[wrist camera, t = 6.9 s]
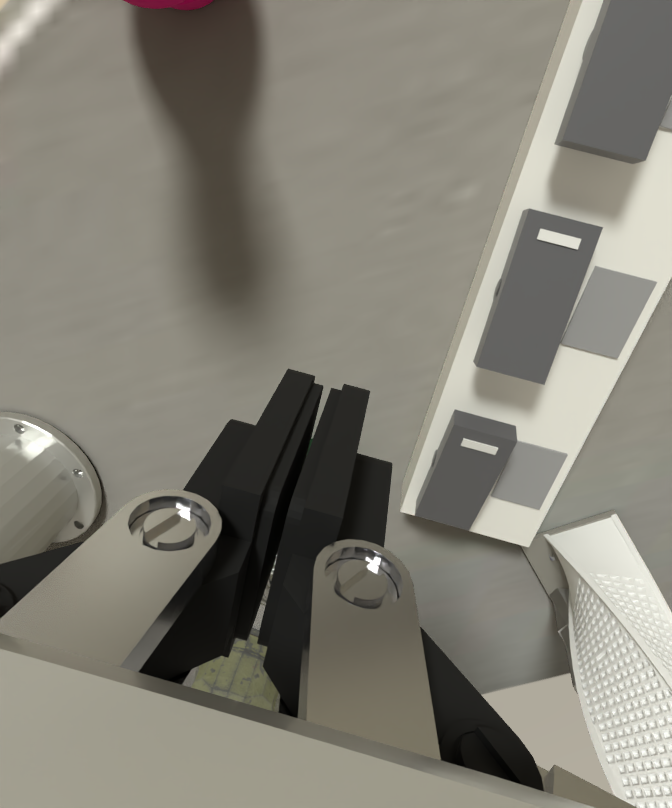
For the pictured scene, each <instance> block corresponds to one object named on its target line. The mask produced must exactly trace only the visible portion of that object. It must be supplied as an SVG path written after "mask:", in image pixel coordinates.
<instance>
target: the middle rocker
mask: <svg viewBox="0 0 672 808" xmlns="http://www.w3.org/2000/svg"><path fill="white" fill-rule="evenodd" d="M602 229H603V227H600V226H596V225H592V224H588V223H584V222H580V221H576V220H573V219H569V218H565V217H561V216H557V215H553V214H549V213H545V212H541V211H537V210H533V209H530V208H529V209H526V210H523V212H522V215H521V218H520V221H519V224H518V227H517V230H516V233H515V236H514V239H513V242H512V245H511V248H510V251H509V254H508V257H507V260H506V263H505V266H504V270H503V273H502V276H501V278H500V279H499V281H498V283H497V286H496V288H495V292H494V296H493V303H492V306H491V309H490V312H489V315H488V318H487V321H486V324H485V327H484V330H483V333H482V336H481V339H480V342H479V345H478V348H477V352H476V355H475V358H474V361H473V362H474V364H475V365H476V367H479V368H483V369H487V370H490V371H494V372H498V373H502V374H505V375H509V376H513V377H516V378H520V379H524V380H528V381H531V382H535V383H539V384H543V385H545V382H546V379H547V377H548V374H549V371H550V369H551V366H552V363H553V361H554V358H555V355H556V353H557V350H558V347H559V345H560V342H561V339H562V337H563V334H564V331H565V328H566V326H567V323H568V320H569V318H570V315H571V312H572V310H573V307H574V304H575V302H576V299H577V296H578V294H579V291H580V288H581V285H582V283H583V280H584V277H585V275H586V272H587V269H588V267H589V264H590V261H591V259H592V256H593V253H594V251H595V248H596V245H597V243H598V240H599V237H600V234H601V232H602Z"/></svg>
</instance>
